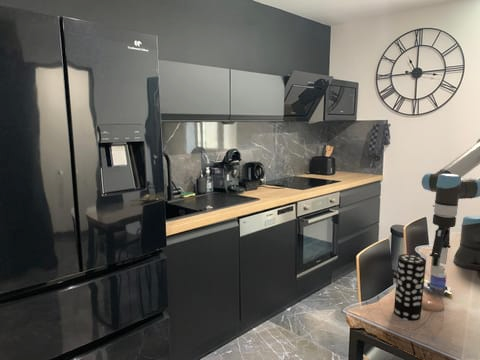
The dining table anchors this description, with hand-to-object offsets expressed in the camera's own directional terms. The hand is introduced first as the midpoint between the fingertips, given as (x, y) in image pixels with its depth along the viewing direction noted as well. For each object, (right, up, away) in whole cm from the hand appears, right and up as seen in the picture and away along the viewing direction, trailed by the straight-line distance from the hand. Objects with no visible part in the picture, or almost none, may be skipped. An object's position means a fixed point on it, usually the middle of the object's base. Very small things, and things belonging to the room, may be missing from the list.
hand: (438, 268), depth 135 cm
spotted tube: (-20, -12, -16) cm, 28 cm away
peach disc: (-9, -11, -9) cm, 16 cm away
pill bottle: (0, -9, +2) cm, 9 cm away
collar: (0, -9, +2) cm, 9 cm away
